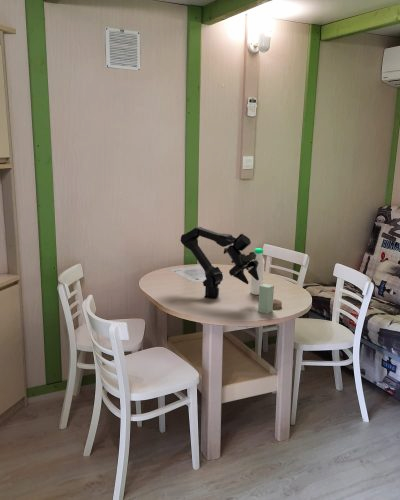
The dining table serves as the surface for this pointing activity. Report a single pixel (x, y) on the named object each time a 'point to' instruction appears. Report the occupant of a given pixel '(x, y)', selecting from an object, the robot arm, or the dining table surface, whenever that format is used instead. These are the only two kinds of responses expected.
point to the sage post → (266, 298)
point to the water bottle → (260, 271)
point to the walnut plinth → (277, 304)
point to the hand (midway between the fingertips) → (253, 281)
